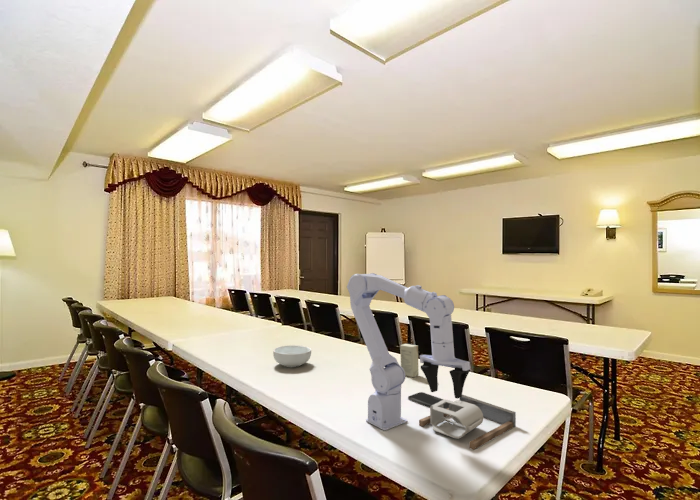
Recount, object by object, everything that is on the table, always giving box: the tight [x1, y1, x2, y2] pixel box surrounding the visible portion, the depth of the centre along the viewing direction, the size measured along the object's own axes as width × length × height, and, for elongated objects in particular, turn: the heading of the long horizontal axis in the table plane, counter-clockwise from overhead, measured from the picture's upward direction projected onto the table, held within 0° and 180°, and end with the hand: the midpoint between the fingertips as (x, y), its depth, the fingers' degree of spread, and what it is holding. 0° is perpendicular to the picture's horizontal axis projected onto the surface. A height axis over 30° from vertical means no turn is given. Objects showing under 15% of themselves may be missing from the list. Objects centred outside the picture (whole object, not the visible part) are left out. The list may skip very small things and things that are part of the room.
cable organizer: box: [429, 398, 484, 439], centre depth 101 cm, size 7×12×12 cm
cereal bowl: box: [272, 344, 312, 368], centre depth 164 cm, size 17×17×7 cm
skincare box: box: [399, 343, 420, 378], centre depth 150 cm, size 6×4×12 cm
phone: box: [407, 391, 450, 409], centre depth 120 cm, size 8×1×15 cm
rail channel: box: [418, 394, 517, 451], centre depth 103 cm, size 21×17×4 cm
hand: (445, 394), depth 96 cm, fingers open, 7 cm apart
